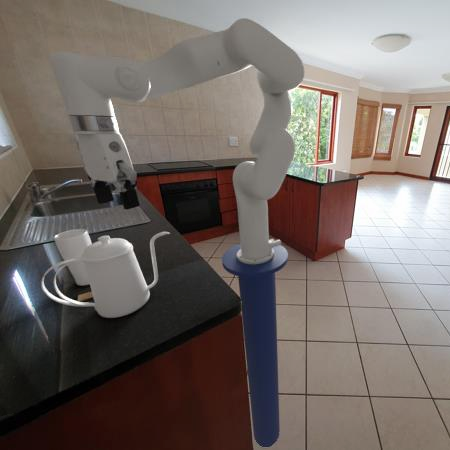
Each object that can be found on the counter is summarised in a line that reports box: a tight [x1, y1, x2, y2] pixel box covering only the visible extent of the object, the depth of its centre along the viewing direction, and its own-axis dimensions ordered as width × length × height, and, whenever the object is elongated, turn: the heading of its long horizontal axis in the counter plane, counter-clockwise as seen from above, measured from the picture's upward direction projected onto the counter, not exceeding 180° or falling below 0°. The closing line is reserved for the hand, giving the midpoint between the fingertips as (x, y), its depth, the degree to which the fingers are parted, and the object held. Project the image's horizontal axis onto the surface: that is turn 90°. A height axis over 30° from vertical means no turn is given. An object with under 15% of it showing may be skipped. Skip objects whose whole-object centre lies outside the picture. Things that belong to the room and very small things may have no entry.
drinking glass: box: [53, 228, 93, 287], centre depth 65 cm, size 7×7×15 cm
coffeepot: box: [40, 231, 171, 319], centre depth 56 cm, size 11×25×19 cm, turn 126°
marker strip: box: [77, 291, 94, 302], centre depth 63 cm, size 8×3×1 cm, turn 128°
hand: (118, 204), depth 56 cm, fingers open, 9 cm apart
